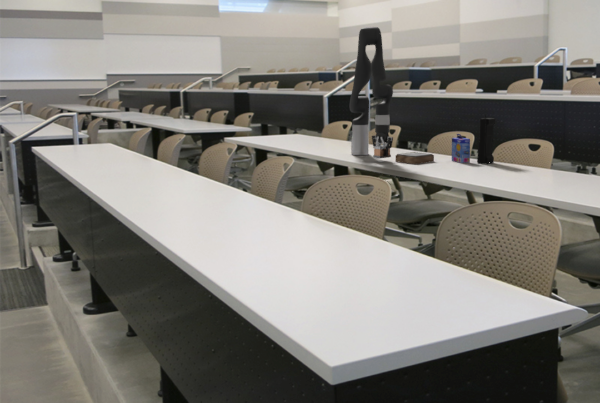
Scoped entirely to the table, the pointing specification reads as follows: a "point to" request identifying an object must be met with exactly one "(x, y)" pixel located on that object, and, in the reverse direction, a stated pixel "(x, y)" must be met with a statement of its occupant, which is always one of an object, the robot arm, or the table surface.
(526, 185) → the table surface
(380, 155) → the housing
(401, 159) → the walnut stand
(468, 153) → the ink cartridge box
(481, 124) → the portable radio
